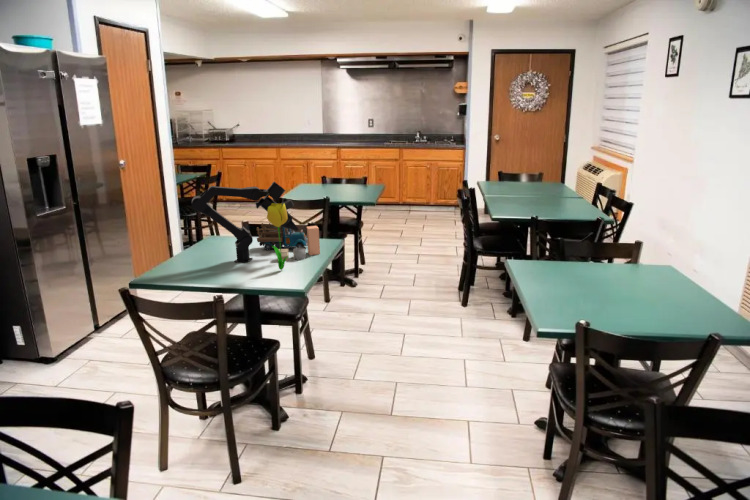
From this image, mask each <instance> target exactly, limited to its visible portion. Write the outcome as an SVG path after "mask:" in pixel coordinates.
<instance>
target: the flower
mask: <svg viewBox="0 0 750 500" xmlns="http://www.w3.org/2000/svg"><path fill="white" fill-rule="evenodd" d="M275 203H277V202H275ZM275 203H272V204H271V205H270V206H268V211H266V212H267V215H266V219H267V221H268V222H269V223H270V225H274V226H273V227H275V228H277V227H278V230H277V231H278V232H279V231H280V230H279V227H280V226H281V225H282V224H284V223H285V222H286V221H287V219H288V217H287V211H288V209H287V210H286V207H285V204H283V205H282V203H283V202H281V203H277V204H275ZM281 227H282V226H281ZM279 240H280V232H279ZM272 249H274V252H275V255H276V257H277V264H278V266H277V267H278V269H279V270H280V271H281V272H283V269H284V267H285V263H286V261H285V260H286V258H287V257H288V256H287V257H286V258H285V259H284V260H282V256H281V254H280V253H281V249H282V248H281V244H280V248H277V247H275V245H274V246H272ZM279 249H280V251H279Z"/></svg>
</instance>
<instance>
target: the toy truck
mask: <svg viewBox="0 0 750 500" xmlns="http://www.w3.org/2000/svg"><path fill="white" fill-rule="evenodd" d="M260 227H261V228H259V227H258V226H257V227H256V231H257V232H256V234H257V235H258V237H256V241H257V243H259V244H258V245H259V247H262V246H263V247H264V250H265V251H271V250H272V249H273V247H272V246H275V247H277V248H278V249H280V244H281V249H290V248H291V247H294V248H305V247H308V243H307V234H305V232H304V231H303V230H300V231H295V230H293V229H289V228H286V227H282V226H280V227H279V232H280V240H279V232H278V227H275V226H274V225H273V224H271V223H270V222H269V223H268V225H267V224H266V225H265V224H264V223H263V222H262V223H261V225H260Z"/></svg>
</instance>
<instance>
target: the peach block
mask: <svg viewBox="0 0 750 500" xmlns="http://www.w3.org/2000/svg"><path fill="white" fill-rule="evenodd" d="M306 236H307V237H306V238H307V243H308V246H307V254H308V255H309V256H313V255H315V256H316V255H321V245H320V243H321V242H320V228H319V227H318V225H310V226H306Z"/></svg>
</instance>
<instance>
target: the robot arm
mask: <svg viewBox="0 0 750 500" xmlns="http://www.w3.org/2000/svg"><path fill="white" fill-rule="evenodd" d="M286 191H287V190H286V189H284V187H282V186H281V185H280V184H278V183H277V182H276V181H273V182H272V183H271V185H269V187H268V188H267V189H266V188H259V187H258V186H247V187H241V188H240V187H227V186H215V185H211V186H209V187H208V188H207V189H206V190H204V191H203V192H202V193H200V195H195V196H193V198H192V199H191V207H192V209H194V211H197V212H198V213H201V214H203V215H205V216H207V217H209V218H210V219H211V220H213V221H214V222H215V223H216V224H219V225H220V226H221V227H222V228H224V229H225V230H226V231H228V233H230V234H232V235H233V237H235V238H236V240H235V242H234V245H235V250H236V252H235V253H236V259H235V260H234V263H248V262H250V261H252V260H253V257H250V250H249V248H250V245H251V244H252V243H253V242H254V238H253V236H252V233H251V231H250V230H249V229H247V228H246V227H245V226H243V225H242V227H239V226H237V225H236V224H235V223H233V222H231V221H230V220H229V219H228V218H226V217H225V216H223V215H222V214H221V213H219V212H218V211H217V210H216V209H214V208H213V207H212V206H211V205H210V204H209V202H210V201H211V200H212V199H213V198H214V197H215V196H218V197H219V196H221V197H232V198H233V197H235V198H237V197H238V198H242V199H243V198H244V199H245V200H246V199H247V200H250V201H255V208H256V209H257V210H258V209H259V208H260V207H261V208H262V209H263V210H265V211H266V212H267V211H268V206H270V205H271V204H272V203H275V204H277V202H276V201H275V200H279V199H280V198H281V197H282V196H283V194H284V193H285V192H286ZM281 203H282V205H283V204H285V207H286V210H287V217H288V219H287V221H286V222H285V223H284V224H282V225H281V227H286V228H287V229H288V230H289V229H291V230H292V229H293V230H294V231H295V232H299V227H297V225H296V224H295V223H294V221H293V216H292V215H291V214H290V213H289V211H288V210H289V209H291V208H294V207H295V204H294V203H293V200H292V199H291V198H286V197H285V198H282V202H281Z"/></svg>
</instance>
